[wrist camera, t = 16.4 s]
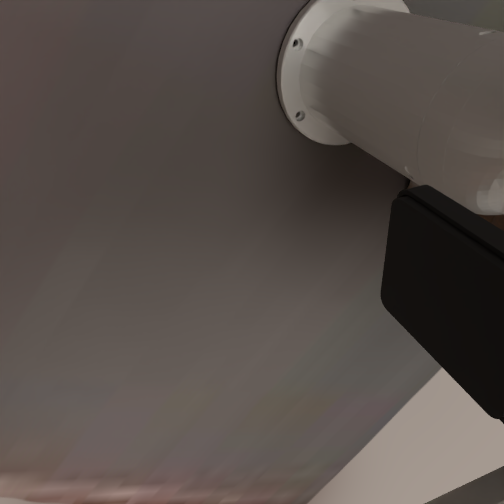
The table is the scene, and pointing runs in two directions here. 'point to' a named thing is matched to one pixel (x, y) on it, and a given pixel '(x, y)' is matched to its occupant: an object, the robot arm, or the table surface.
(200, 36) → the table surface
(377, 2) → the robot arm
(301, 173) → the table surface
